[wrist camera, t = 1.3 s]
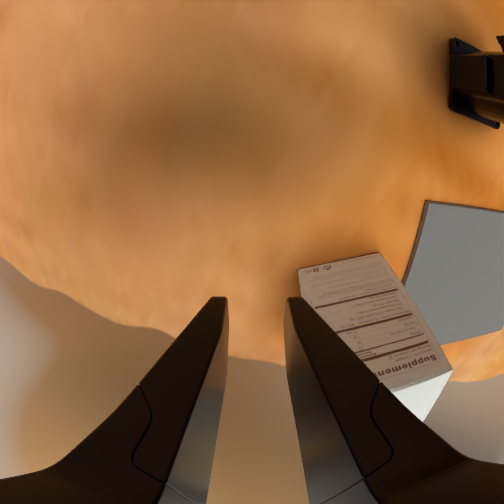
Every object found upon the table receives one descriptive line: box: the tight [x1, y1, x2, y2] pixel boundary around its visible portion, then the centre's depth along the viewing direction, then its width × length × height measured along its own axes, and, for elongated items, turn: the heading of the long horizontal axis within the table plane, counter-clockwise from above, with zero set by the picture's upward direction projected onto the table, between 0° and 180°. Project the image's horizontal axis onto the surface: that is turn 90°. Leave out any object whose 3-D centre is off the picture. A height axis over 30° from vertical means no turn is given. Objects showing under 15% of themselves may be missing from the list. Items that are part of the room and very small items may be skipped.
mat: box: [402, 201, 504, 345], centre depth 24 cm, size 24×18×1 cm
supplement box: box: [298, 253, 453, 422], centre depth 19 cm, size 7×7×13 cm
